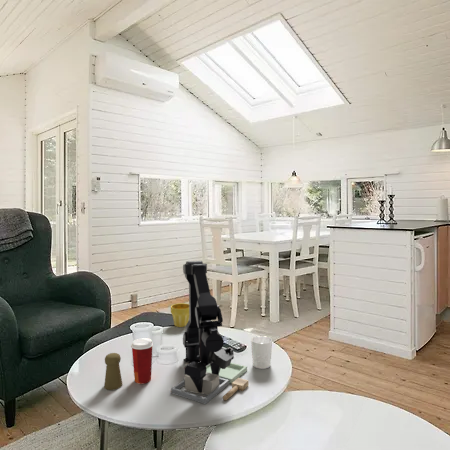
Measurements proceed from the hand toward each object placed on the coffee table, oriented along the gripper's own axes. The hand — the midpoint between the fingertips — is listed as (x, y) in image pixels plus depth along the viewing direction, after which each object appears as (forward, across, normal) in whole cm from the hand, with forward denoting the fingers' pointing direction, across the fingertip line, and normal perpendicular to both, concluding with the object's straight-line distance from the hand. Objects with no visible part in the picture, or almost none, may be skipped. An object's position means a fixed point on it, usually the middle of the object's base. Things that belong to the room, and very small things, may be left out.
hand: (208, 386), depth 128 cm
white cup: (+2, +27, -7) cm, 28 cm away
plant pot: (+2, +49, +48) cm, 68 cm away
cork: (+2, -13, +30) cm, 33 cm away
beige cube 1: (+2, 0, 0) cm, 2 cm away
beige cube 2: (+2, -1, +5) cm, 5 cm away
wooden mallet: (+2, +4, -8) cm, 9 cm away
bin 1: (+2, 0, +3) cm, 3 cm away
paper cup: (+2, -5, +24) cm, 25 cm away
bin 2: (+2, +14, +3) cm, 14 cm away
